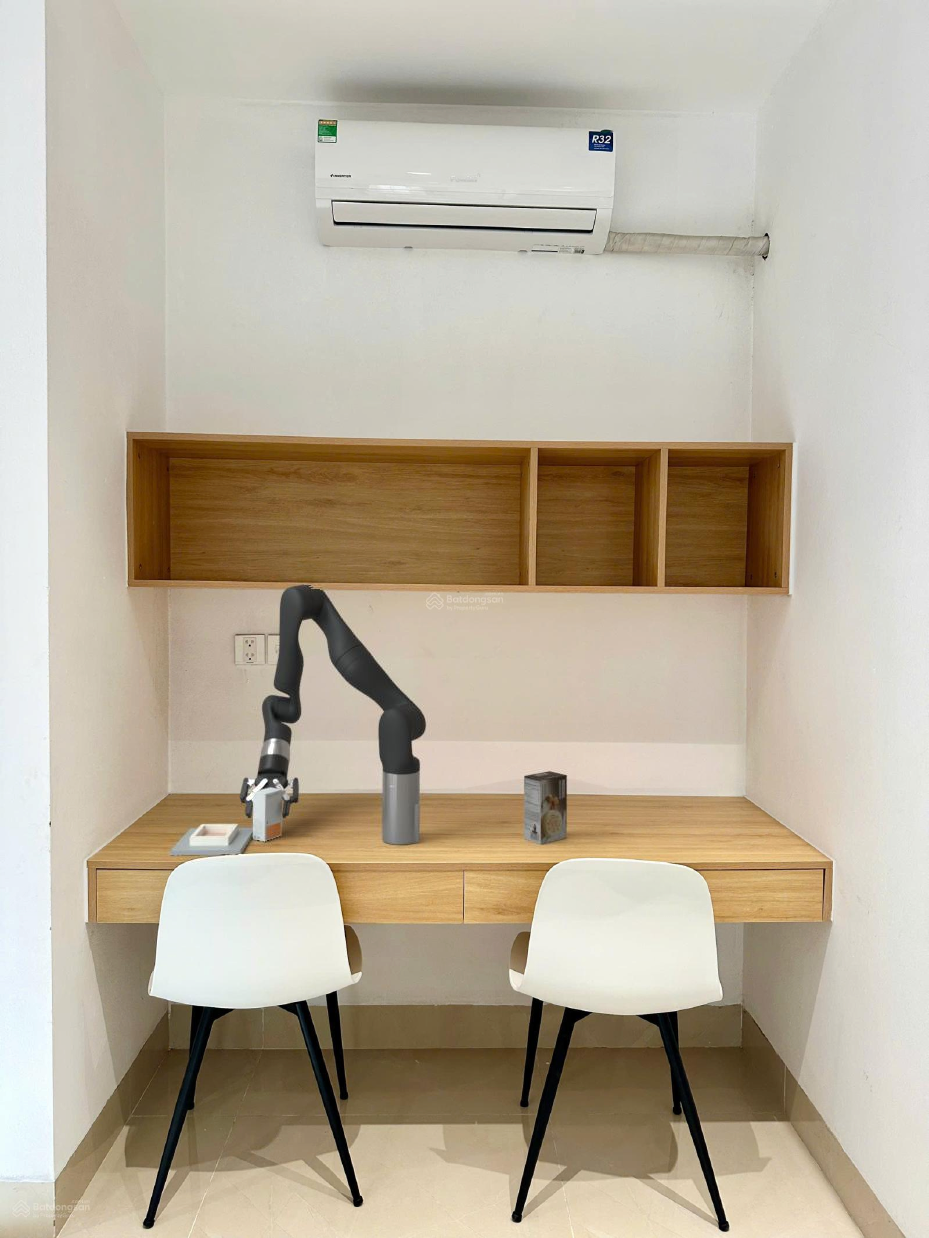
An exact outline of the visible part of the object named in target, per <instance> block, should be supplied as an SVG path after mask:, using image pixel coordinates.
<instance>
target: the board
mask: <svg viewBox="0 0 929 1238" xmlns="http://www.w3.org/2000/svg"><path fill="white" fill-rule="evenodd" d="M251 837H252V838H253V827H239V824H238V823H202V824H200V825H199V826H198V827H191V828H189V829H188V831H187V832H186V833H185V834H183V836H182V837H181V838H180V839H179V840H178V842H177V843H175V845H174V846H173V847H172V848H171V849H170V851H169V852H170V853H169V855H174V856H173V857H175V856H176V857H177V855H179V857H180V855H200V856H221V855H220V854H237V853H241V854H242V853H243V852H244V850H245V849H244V848H247V846H248V844H249V843H250V841H251V839H252V838H251ZM248 842H249V843H248ZM246 845H247V846H246Z"/></svg>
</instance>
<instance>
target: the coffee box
mask: <svg viewBox="0 0 929 1238" xmlns="http://www.w3.org/2000/svg"><path fill="white" fill-rule="evenodd" d="M523 777H524V778H523V779H524V780H523V781H524V783H523V785H524V786H523V787H524V790H523V792H524V796H523V797H524V800H523V806H524V807H523V809H524V810H523V816H524V818H523V819H524V820H523V821H524V822H523V829H524V831H523V834H524V835H523V838H524V840H527V841H530V842H532V843H536V844H538V845H544V844H548V843H552V842H555V841H559V840H564V839H567V838H568V837H567V836H568V835H567V834H568V833H567V831H568V830H567V827H568V821H567V818H568V817H567V816H568V815H567V814H568V813H567V811H568V809H567V808H568V803H567V802H568V797H567V796H568V782H567V781H568V775H567V774H562V773H560V772H559V773H558V772H555V771H549V770H548V771H544V772H538V773H533V774H532V773H531V774H527V775H524V776H523Z"/></svg>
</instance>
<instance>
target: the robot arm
mask: <svg viewBox="0 0 929 1238" xmlns="http://www.w3.org/2000/svg"><path fill="white" fill-rule="evenodd" d="M309 586H311V585H304V584H299V585H293V586H290V587H287V588H285V589H284V590H283V592H282V593H281V597H280V602H279V625H278V626H279V628H278V629H279V631H278V632H279V633H278V635H279V636H278V637H279V639H278V643H279V645H278V657H277V662H276V667H275V673H274V678H273V687H274V689H275V690H277V691H279V692H280V693H283V694H285V695H287V696H283V695H276V694H270V695H268V696H266V697H265V698H264V700H263V701H262V704H261V711H262V712H261V713H262V718H263V723H264V734H263V735H264V737H263V742H262V743H263V744H262V747H261V750H260V755H259V761H258V768H257V773H256V774H257V775H256V777H255V779H249V778H248V777H244V778H243V781H242V785H241V789H240V793H239V799H240V803H241V804H245V808H244V814H245V816H246V817H247V819H252V817H253V792H256V791H259V790H262V789H266V788H270V787H271V788H276V789H281V790H282V819H286V818H287V817H288V816H289V815H290V810H291V805H292V804H297V803H298V802H299V797H300V796H299V793H300V792H299V791H300V782H299V778H298V777H294V778H293V779H288V776H289V775H288V773H289V765H290V761H291V758H290V757H291V744H292V736H293V733H292V729H291V727H290V726H289V725H290V724H291V725H292V724H296V723H297V722H298V721H299V720H300V718H301V716H302V701H301V693H300V690H301V689H300V688H301V683H302V682H301V681H302V678H303V672H304V665H305V663H304V662H305V659H304V653H303V651H302V649H301V644H300V640H299V632H300V629H301V625H302V623H303V621H307V620H312V621H313V622H315V624H316V625H317V627H319V628H320V630H321V631H322V633H323V635H324V636H325V639H326V643H327V649H328V656H329V660H330V661H331V664H332V665H333V666H334V668H335V669H336V671H338V673H339V674H340V675H341V677H343V680H345V681H346V682H347V683H348V684H349V685H350V686H351V687H353V688H354V689H355V690H357V691H359V692H360V693H362V694H363V695H365V696H366V697H368V698H369V699H371V700H372V701H373V702H374V703H376V704H377V706H379V708H380V709H381V710H382V711H383V713H382V714H381V715H380V718H379V721H378V730H377V731H378V733H377V734H378V735H377V736H378V752H379V753H378V754H379V759H380V762H381V764H382V765H381V766H382V767H381V768H382V786H381V788H382V789H381V790H382V795H381V796H382V798H381V801H382V802H381V804H382V810H381V811H382V812H381V813H382V815H381V817H382V819H381V820H382V821H381V823H382V825H381V826H382V827H381V828H382V829H381V839H382V842H383V843H386V844H390V845H399V846H400V845H401V846H403V845H410V844H415V843H416V844H417V843H420V832H421V831H420V828H421V827H420V824H421V823H420V821H421V820H420V819H421V815H420V813H421V808H420V807H421V806H420V805H421V804H420V803H421V802H420V800H421V798H420V797H421V796H420V794H421V792H420V790H421V789H420V785H421V783H420V782H421V781H420V777H421V776H420V774H421V761H420V759H419V758H418V757H416V756H414V754H413V741H416V740H418V739H419V738H421V737H422V736H423V735H424V734H425V732H426V729H427V728H426V727H427V722H426V717H425V715H424V713H423V712H422V710H421V709H420V708H419V707H418V705H417V704H415V703H414V702H413V701H412V700H411V699H410V698H409V697H408V695H407V694H406V693H404V692H403V691H402V689H400V688H399V687H398V685H397V684H396V683H395V682H394V681H393V680H392V678H390V676H389V674H388V673H387V672H386V671H385V670H384V669H383V667H382V666H381V665H380V664H379V662H377V660H376V659H375V657H374V656H373V655H372V653H371V652H370V650H369V649H368V648H367V647H366V646H365V644H364V643H363V642H362V641H361V640H360V639H359V638H358V637H357V635H356V634H355V633H354V632H353V630H352V629H351V627H350V626H349V625H348V624H347V623H346V621H345V620H344V619H343V618H342V616H341V614H340V613H339V612H338V610H337V609H336V607H335V605H334V604H333V602H332V601H331V599H330V598H329V597H328V595H327V593H326V592H325V591H324V589H322V590H320V589H311V588H313V587H309ZM287 724H289V725H287ZM253 786H255V788H253V790H252V791H251V792H250V794H249V790H251V788H252V787H253ZM288 786H290V788H291V789H292V795H290V796H289V794H288V793H287V791H286V788H287V787H288Z"/></svg>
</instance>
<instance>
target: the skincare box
mask: <svg viewBox="0 0 929 1238" xmlns="http://www.w3.org/2000/svg"><path fill="white" fill-rule="evenodd" d="M282 811H283V800H282V790H281V789H276V788H271V787H270V788H266V789H262V790H259V791H256V792H253V809H252V828H253V836H252V840H254V841H257V840H260V841H259V842H262V841H264V842H263V843H266V842H268V841H267V840H269V841H271V840H270V839H272V840H274V839H273V838H275V837H278V838H280V837H279V836H281V837H282V824H283V823H282V819H283V816H282ZM275 839H276V838H275ZM265 841H266V842H265Z"/></svg>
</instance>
